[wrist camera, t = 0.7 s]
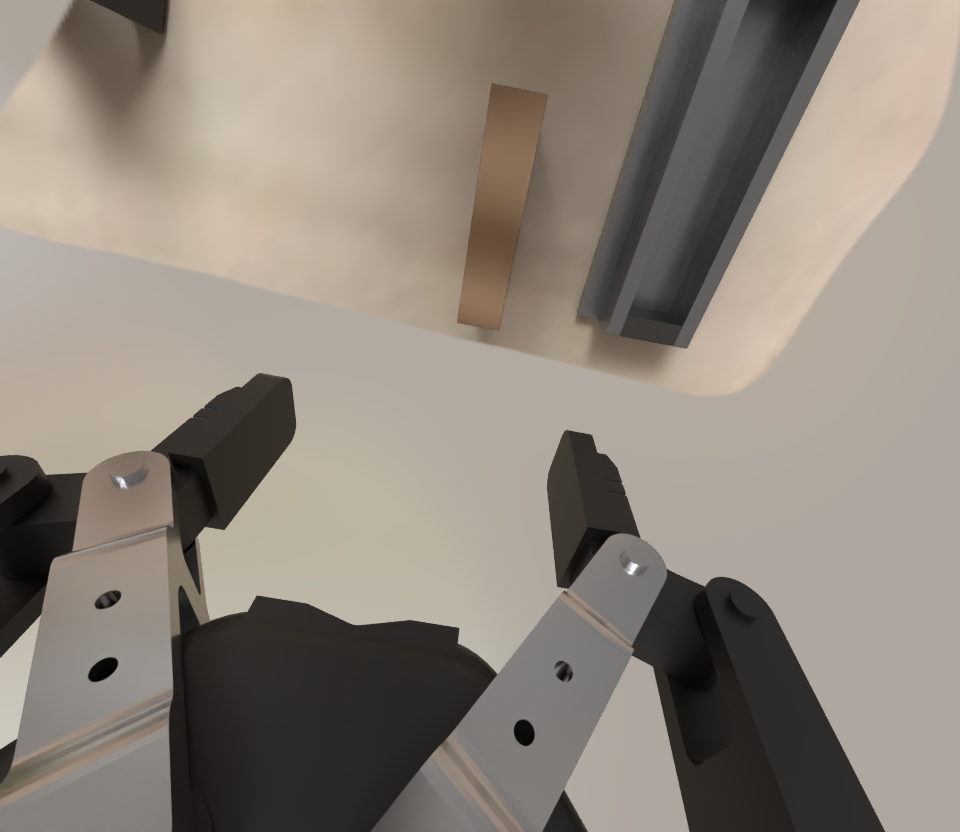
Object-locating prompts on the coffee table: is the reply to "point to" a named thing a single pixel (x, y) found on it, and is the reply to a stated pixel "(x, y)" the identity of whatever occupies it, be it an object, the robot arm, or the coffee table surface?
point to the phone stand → (138, 11)
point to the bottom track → (704, 156)
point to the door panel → (499, 202)
